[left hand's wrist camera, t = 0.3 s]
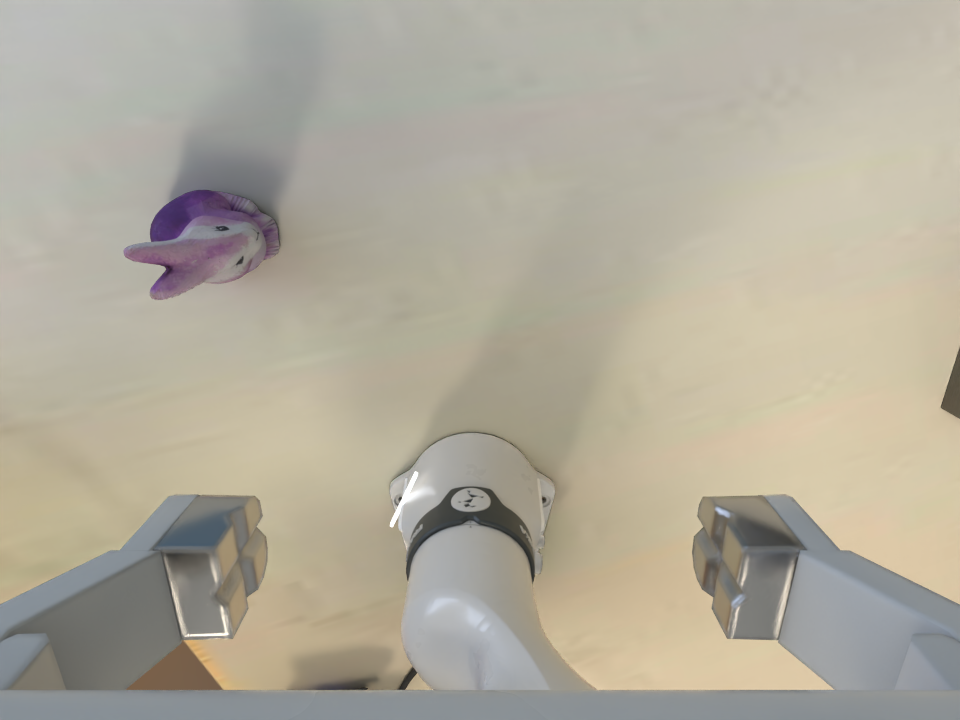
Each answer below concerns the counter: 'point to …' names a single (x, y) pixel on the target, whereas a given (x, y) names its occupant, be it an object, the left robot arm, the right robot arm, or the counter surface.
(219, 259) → the figurine
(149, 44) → the counter surface
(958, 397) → the bar
